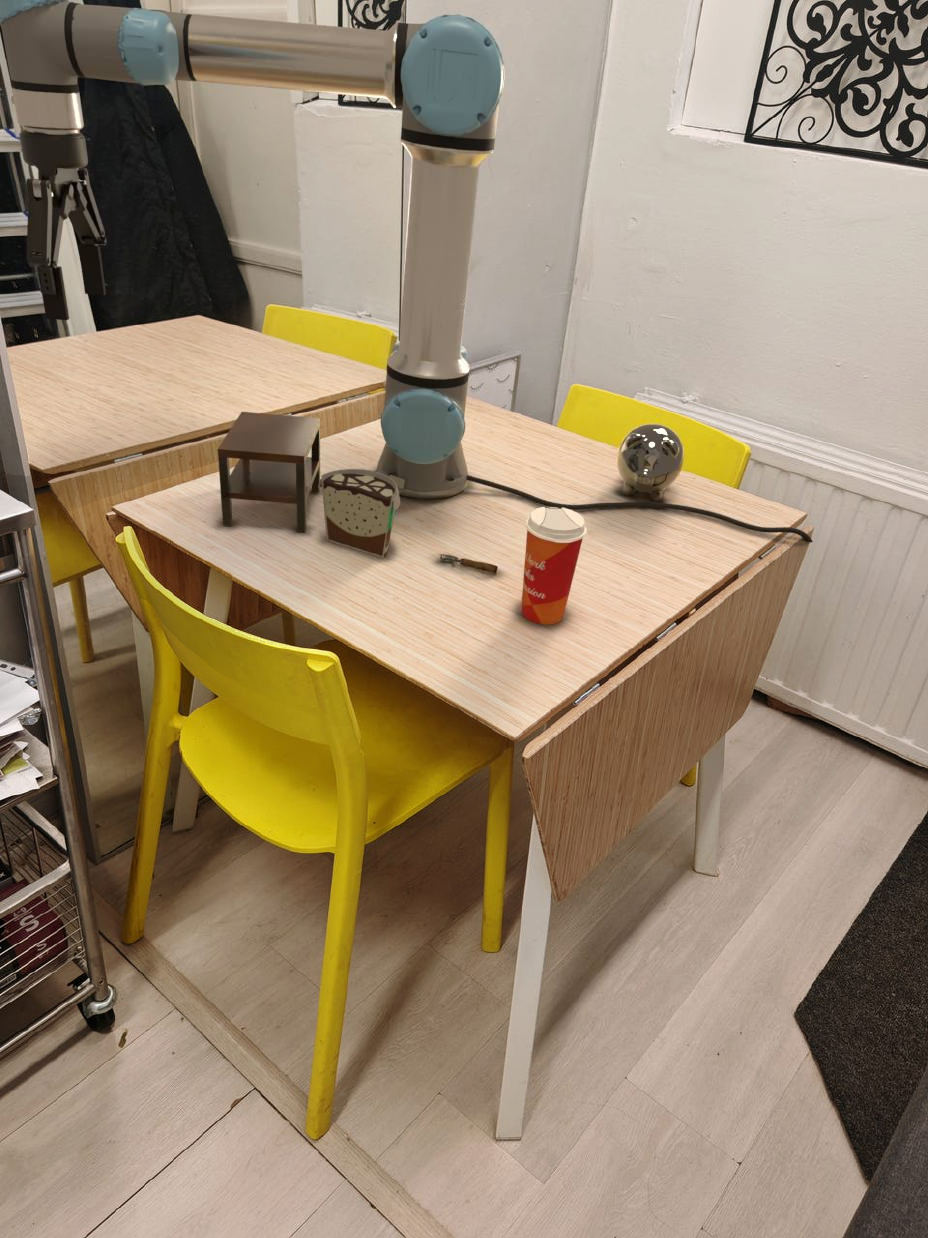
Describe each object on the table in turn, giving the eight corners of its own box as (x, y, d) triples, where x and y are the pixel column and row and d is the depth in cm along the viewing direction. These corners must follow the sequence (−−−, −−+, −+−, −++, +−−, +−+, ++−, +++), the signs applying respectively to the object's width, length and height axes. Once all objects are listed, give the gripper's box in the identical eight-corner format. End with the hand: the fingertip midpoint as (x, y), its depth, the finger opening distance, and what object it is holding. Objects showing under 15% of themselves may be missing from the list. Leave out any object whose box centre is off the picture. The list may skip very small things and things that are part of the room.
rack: (320, 489, 144) (320, 418, 138) (305, 532, 132) (304, 456, 125) (245, 483, 144) (241, 411, 137) (222, 526, 131) (217, 448, 125)
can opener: (498, 571, 126) (498, 564, 126) (491, 578, 125) (492, 571, 124) (440, 554, 129) (441, 547, 129) (433, 561, 127) (434, 553, 127)
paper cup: (509, 596, 121) (522, 502, 114) (565, 598, 122) (581, 505, 115) (517, 629, 115) (531, 531, 107) (576, 630, 116) (594, 534, 108)
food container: (412, 543, 131) (416, 481, 126) (392, 561, 127) (395, 496, 121) (340, 522, 135) (341, 460, 130) (318, 538, 130) (318, 474, 125)
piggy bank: (604, 502, 149) (616, 437, 143) (617, 469, 162) (629, 408, 155) (671, 516, 147) (686, 450, 141) (679, 481, 159) (693, 419, 153)
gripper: (60, 119, 121) (83, 282, 133) (-28, 135, 101) (9, 327, 112) (116, 124, 122) (134, 287, 133) (40, 142, 101) (70, 332, 112)
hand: (77, 306), depth 123 cm, fingers open, 13 cm apart
